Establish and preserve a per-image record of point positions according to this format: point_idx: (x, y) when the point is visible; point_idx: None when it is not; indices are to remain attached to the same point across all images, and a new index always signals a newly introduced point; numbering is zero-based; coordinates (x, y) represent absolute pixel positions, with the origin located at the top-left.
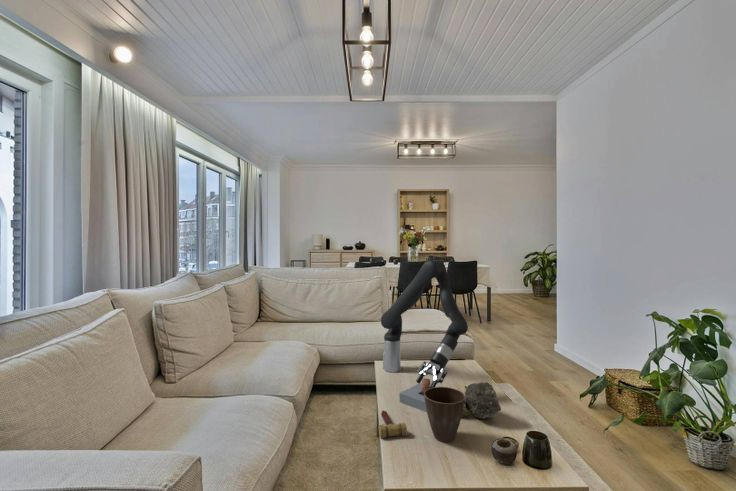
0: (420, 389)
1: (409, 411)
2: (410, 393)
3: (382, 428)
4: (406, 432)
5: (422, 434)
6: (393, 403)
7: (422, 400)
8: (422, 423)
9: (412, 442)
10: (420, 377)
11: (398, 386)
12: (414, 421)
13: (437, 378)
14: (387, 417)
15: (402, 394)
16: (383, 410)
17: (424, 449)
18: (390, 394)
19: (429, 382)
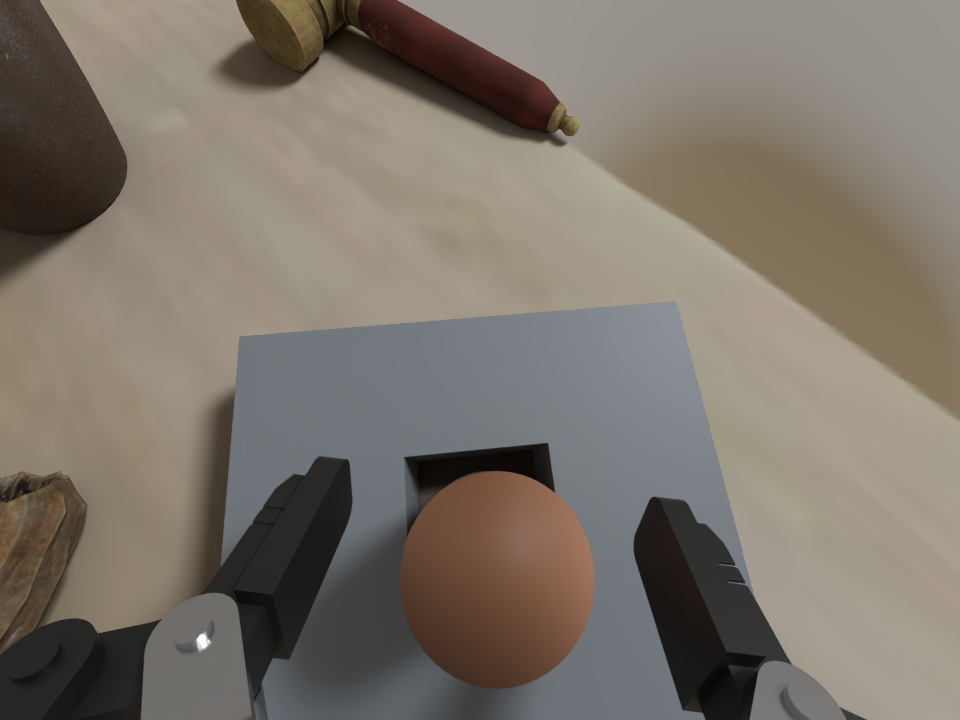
0: (612, 570)
1: (458, 272)
2: (599, 381)
3: None
4: (242, 17)
5: (197, 119)
6: (643, 280)
7: (387, 342)
8: (272, 210)
9: (201, 37)
10: (686, 607)
11: (956, 601)
12: (333, 194)
13: (119, 702)
14: (439, 29)
15: (634, 305)
16: (570, 122)
17: (111, 32)
18: (810, 384)
19: (404, 570)
